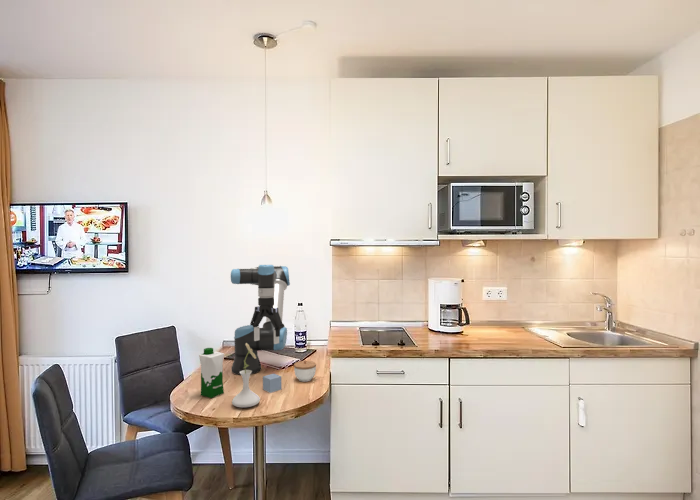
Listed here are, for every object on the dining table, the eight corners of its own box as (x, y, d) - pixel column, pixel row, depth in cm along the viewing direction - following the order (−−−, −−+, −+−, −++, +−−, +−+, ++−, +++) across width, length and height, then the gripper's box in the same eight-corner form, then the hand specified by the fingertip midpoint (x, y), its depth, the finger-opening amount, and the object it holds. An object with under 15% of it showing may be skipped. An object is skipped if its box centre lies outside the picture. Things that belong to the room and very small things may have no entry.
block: (262, 389, 188) (262, 376, 188) (274, 386, 192) (273, 373, 192) (270, 393, 184) (270, 379, 183) (281, 389, 188) (281, 376, 188)
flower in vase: (258, 409, 165) (257, 347, 165) (229, 410, 164) (228, 348, 164) (262, 397, 178) (261, 340, 178) (235, 398, 177) (234, 340, 177)
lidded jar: (312, 384, 195) (312, 364, 195) (291, 382, 197) (290, 363, 197) (318, 376, 205) (318, 358, 205) (298, 375, 207) (298, 356, 207)
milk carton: (213, 389, 189) (212, 346, 188) (227, 393, 184) (226, 348, 183) (197, 395, 181) (196, 350, 181) (211, 399, 176) (210, 353, 176)
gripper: (242, 296, 200) (243, 340, 199) (278, 298, 185) (279, 346, 185) (254, 295, 206) (255, 338, 205) (290, 297, 191) (291, 343, 191)
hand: (266, 342), depth 195 cm, fingers open, 13 cm apart
